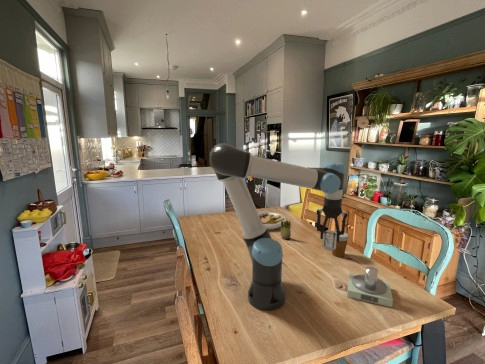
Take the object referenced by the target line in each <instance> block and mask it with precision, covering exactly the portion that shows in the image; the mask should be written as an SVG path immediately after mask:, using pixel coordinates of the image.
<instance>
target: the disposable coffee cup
mask: <svg viewBox="0 0 485 364" xmlns="http://www.w3.org/2000/svg"><path fill="white" fill-rule="evenodd" d="M333 231H334V232H335V233H336V230H333ZM349 238H350V236H349V234H348V233H347V232H345V231H344V235H340V237H339V242H336V249H334V250H332V251H331V254H332V256H334V257H337V258H343V257H345V255H346V248H347V244H348V242H349V241H348V240H349Z"/></svg>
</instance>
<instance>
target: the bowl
mask: <svg viewBox="0 0 485 364" xmlns="http://www.w3.org/2000/svg"><path fill="white" fill-rule="evenodd" d="M257 212H258V215H259V217H260V220H261V222H262V224H265V225H266V226H267V228H268V231H270V230H271V231H272V230H277V229H279V228H280V229H281V221H282V220H283V226H284V221H286V222H287V220H286V216H285V215H283V214H281V213H278V212H274V211H257Z"/></svg>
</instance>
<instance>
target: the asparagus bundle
mask: <svg viewBox="0 0 485 364" xmlns="http://www.w3.org/2000/svg"><path fill="white" fill-rule="evenodd" d="M291 232H292V231H291V221H290V220H286V221H284V225H283V220H282V221H281V227H280V236H281V238H282V239H283V240H289V239H291V235H292V234H291Z"/></svg>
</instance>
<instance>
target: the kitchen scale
mask: <svg viewBox="0 0 485 364" xmlns="http://www.w3.org/2000/svg"><path fill="white" fill-rule="evenodd" d="M364 281H365V274H356V273H355V274H353V273H348V279H347V282H348V283H347V293H346V294H347V295H346V297H347V298H351V299H354V300H359V301H364V302H368V303H371V304H376V305H379V306H380V305H381V306H384V307H388V308H393V304H394V303H393V302H394V299H393V295H392V290H391V285H390V281H389V280H384V279H380V278H378V277H377V284H376V290H374V291H371V290H368V289H366V288H365V287H364Z"/></svg>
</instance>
